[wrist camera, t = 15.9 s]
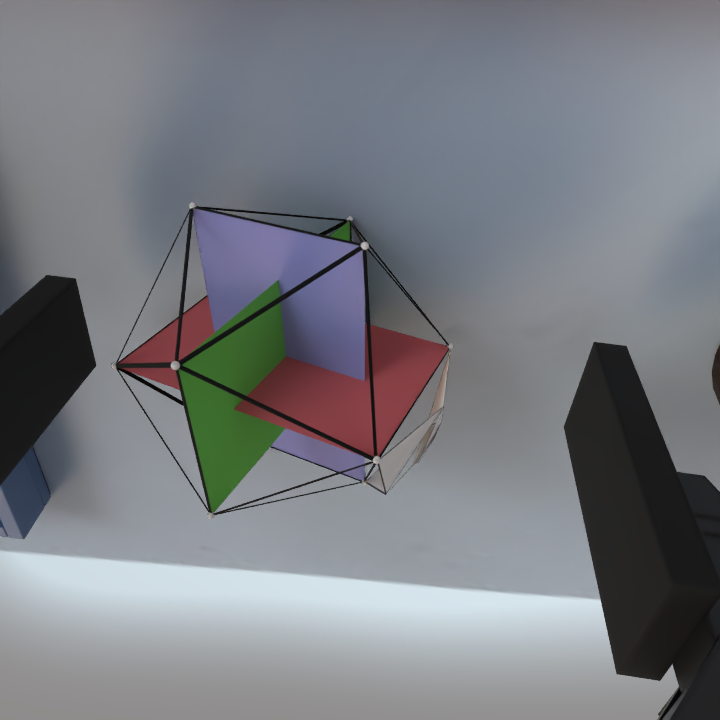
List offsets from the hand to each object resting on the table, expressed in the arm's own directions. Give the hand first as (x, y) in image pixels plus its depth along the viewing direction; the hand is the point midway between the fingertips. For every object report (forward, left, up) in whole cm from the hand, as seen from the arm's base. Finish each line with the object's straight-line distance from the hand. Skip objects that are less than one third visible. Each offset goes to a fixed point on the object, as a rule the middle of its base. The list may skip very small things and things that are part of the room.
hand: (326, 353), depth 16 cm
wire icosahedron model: (-1, +1, -2) cm, 3 cm away
